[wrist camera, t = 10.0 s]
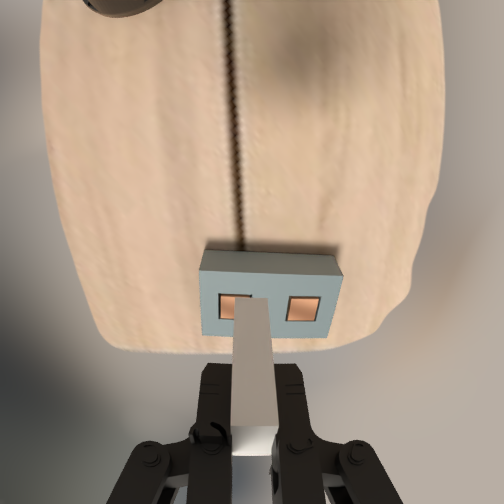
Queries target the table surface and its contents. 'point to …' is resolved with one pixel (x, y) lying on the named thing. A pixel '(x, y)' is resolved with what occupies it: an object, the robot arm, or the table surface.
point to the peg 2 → (302, 307)
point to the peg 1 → (229, 304)
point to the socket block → (269, 289)
